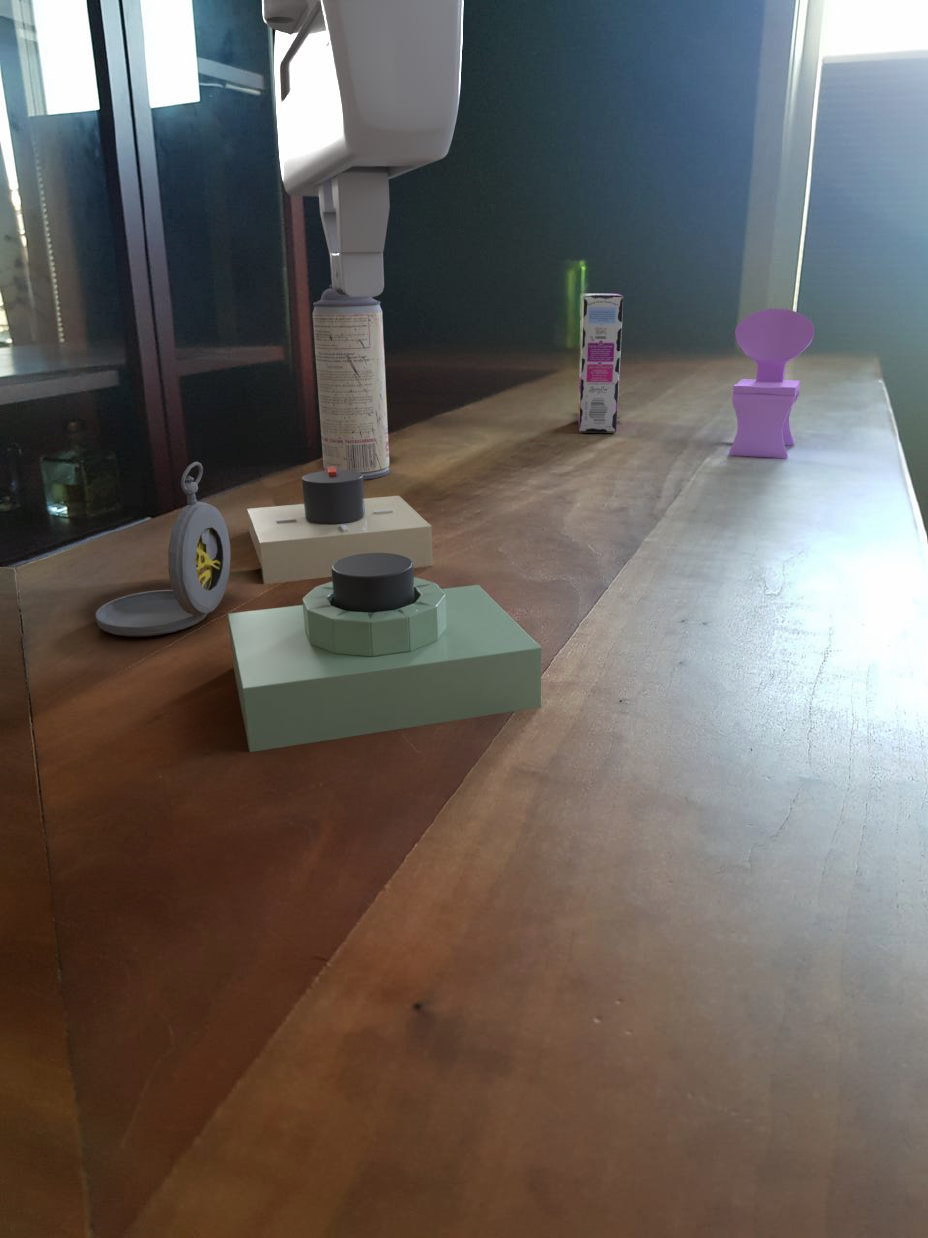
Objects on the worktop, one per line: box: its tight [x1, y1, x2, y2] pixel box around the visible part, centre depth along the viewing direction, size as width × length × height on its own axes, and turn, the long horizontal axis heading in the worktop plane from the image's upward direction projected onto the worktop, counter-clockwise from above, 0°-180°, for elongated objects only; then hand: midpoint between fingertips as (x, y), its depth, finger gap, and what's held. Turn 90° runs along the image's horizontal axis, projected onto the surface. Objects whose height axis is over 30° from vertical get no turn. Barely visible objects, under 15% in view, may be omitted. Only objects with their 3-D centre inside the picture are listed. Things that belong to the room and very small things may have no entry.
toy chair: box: [727, 308, 816, 459], centre depth 103 cm, size 8×9×15 cm
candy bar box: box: [577, 292, 624, 434], centre depth 120 cm, size 11×5×16 cm, turn 174°
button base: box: [227, 576, 543, 753], centre depth 48 cm, size 14×10×5 cm
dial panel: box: [246, 495, 433, 585], centre depth 70 cm, size 12×10×3 cm
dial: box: [301, 466, 365, 524], centre depth 69 cm, size 4×4×3 cm
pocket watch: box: [95, 461, 231, 638], centre depth 56 cm, size 8×8×10 cm
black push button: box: [331, 553, 415, 613], centre depth 47 cm, size 4×4×2 cm
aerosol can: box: [312, 284, 391, 481], centre depth 95 cm, size 7×7×20 cm
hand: (358, 296), depth 42 cm, fingers closed
